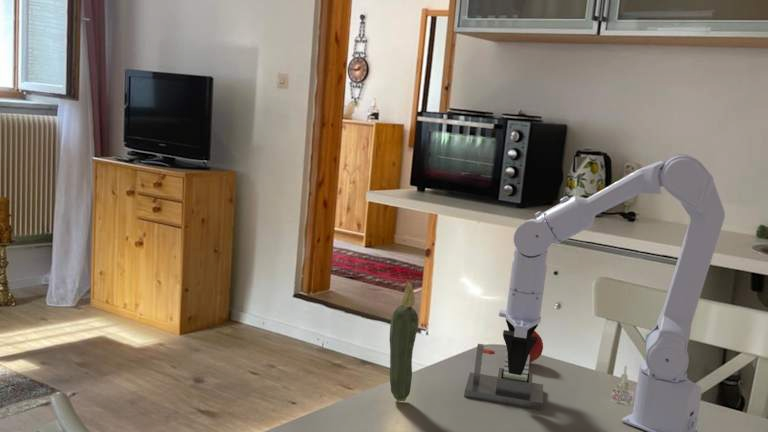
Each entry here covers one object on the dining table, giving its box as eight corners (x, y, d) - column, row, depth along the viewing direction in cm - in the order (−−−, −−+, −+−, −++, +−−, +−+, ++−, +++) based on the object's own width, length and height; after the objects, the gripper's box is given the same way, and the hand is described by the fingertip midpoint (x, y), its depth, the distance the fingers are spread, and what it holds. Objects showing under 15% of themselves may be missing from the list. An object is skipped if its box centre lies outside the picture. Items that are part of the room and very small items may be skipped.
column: (525, 385, 129) (530, 354, 128) (525, 394, 125) (529, 362, 124) (502, 381, 130) (506, 350, 129) (501, 390, 126) (505, 358, 125)
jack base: (542, 390, 131) (548, 347, 130) (541, 410, 122) (548, 363, 121) (469, 378, 134) (474, 336, 132) (464, 396, 125) (469, 351, 124)
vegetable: (406, 410, 117) (419, 287, 114) (380, 405, 118) (392, 284, 115) (411, 400, 121) (424, 281, 118) (385, 395, 122) (397, 278, 119)
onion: (508, 365, 143) (513, 325, 142) (512, 357, 148) (517, 318, 147) (539, 371, 141) (544, 331, 140) (541, 362, 147) (546, 323, 145)
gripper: (504, 277, 133) (495, 349, 135) (499, 296, 119) (489, 376, 121) (544, 283, 131) (534, 356, 133) (544, 302, 117) (533, 383, 119)
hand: (516, 366), depth 127 cm, fingers open, 7 cm apart
